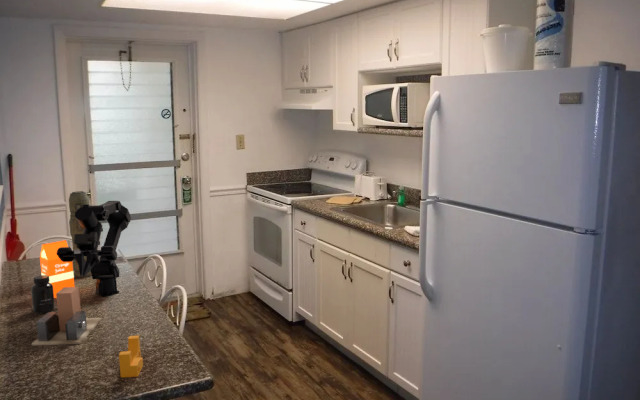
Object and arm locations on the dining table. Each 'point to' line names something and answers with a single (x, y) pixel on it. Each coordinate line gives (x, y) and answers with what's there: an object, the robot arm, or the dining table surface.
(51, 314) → the band block
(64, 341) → the base board
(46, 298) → the supplement bottle
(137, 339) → the orange stepped block
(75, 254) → the robot arm
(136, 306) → the dining table surface
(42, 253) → the orange juice
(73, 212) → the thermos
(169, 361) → the dining table surface
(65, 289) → the peg post
